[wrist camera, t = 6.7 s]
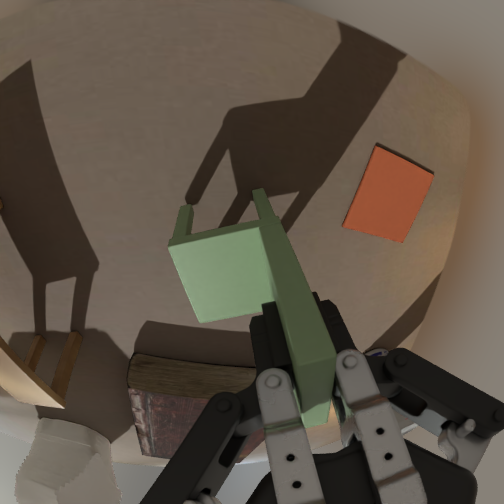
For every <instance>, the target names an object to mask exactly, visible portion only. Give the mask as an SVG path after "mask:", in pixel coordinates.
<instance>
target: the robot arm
mask: <svg viewBox="0 0 504 504" xmlns="http://www.w3.org/2000/svg"><path fill="white" fill-rule="evenodd" d="M312 294H313V297H314V299H315V302H316V304H317V306H318V309H319V311H320V314H321V316H322V318H323V321H324V323H325V326H326V328H327V331H328V333H329V336H330V338H331V341H332V343H333V346H334V348H335V351H336V353H337V360H336V368H335V376H334V383H333V391H332V397H331V399H332V402H333V405H334V409H335V412H336V416H337V419H338V423H339V426H340V432H341V440H342V445H343V449H342V450H340V451H338V452H336V453H327V454H312V452H311V449H310V445H309V441H308V438H307V434H306V430H305V427H304V424H303V421H302V419H301V416H300V412H299V409H298V405H297V401H296V398H295V394H294V391H293V390H294V389H295V384H294V376H293V367H292V361H291V357H290V354H289V350H288V346H287V342H286V338H285V335H284V331H283V327H282V323H281V320H280V316H279V312H278V308H277V305H276V301H271V302H267V303H262V304H261V306H262V310H263V315H259V316H254V317H252V319H251V322H250V325H249V328H250V334H251V340H252V347H253V353H254V359H255V365H256V377H255V380H254V381H253V383H252V384H251V385H250V386H249V387H247V388H245V389H243V390H241V391H239V392H237V393H235V394H234V393H232V392H220V393H217V394H215V395H214V396H213V397H211V399H210V400H209V401H208V403H207V405H206V406H205V408H204V409H203V411H202V412H201V414H200V416H199V417H198V419H197V420H196V422H195V423H194V425H193V426H192V428H191V429H190V431H189V432H188V434H187V436H186V437H185V439H184V440H183V442H182V443H181V445H180V446H179V448H178V449H177V451H176V452H175V453H174V455H173V456H172V458H171V459H170V461H169V462H168V464H167V465H166V467H165V468H164V470H163V471H162V473H161V474H160V475H159V477H158V478H157V480H156V481H155V483H154V484H153V485H152V487H151V488H150V490H149V491H148V492H147V494H146V495H145V497H144V498H143V499H142V501H141V502H140V504H221V502H220V501H219V500H218V499H217V498H215V496H216V494H217V493H218V491H219V490H220V488H221V486H222V485H223V483H224V481H225V480H226V478H227V477H228V475H229V473H230V472H231V470H232V468H233V466H234V465H235V463H236V461H237V460H238V458H239V456H240V454H241V453H242V451H243V449H244V447H245V445H246V444H247V442H248V440H249V438H250V436H251V434H252V432H254V431H257V430H259V429H260V428H262V427H264V430H263V431H264V438H265V443H266V448H267V454H268V459H269V463H270V468H271V471H270V472H269V473H268V474H267V475H265V477H264V478H263V479H262V480H261V482H260V483H259V484H258V486H257V487H256V489H255V490H254V492H253V494H252V495H251V496H250V498H249V499H248V501H247V502H246V504H475V500H476V495H477V488H478V487H477V481H476V478H475V476H474V475H473V473H474V471H475V469H476V468H477V466H478V464H479V462H480V460H481V458H482V457H483V455H484V453H485V451H486V448H487V447H488V444H489V442H490V440H491V438H492V437H493V436H494V435H496V434H497V433H499V432H500V431H501V430H503V429H504V403H502V402H501V401H499V400H497V399H495V398H493V397H492V396H490V395H488V394H486V393H484V392H483V391H481V390H479V389H477V388H475V387H474V386H472V385H470V384H468V383H466V382H465V381H463V380H461V379H459V378H457V377H455V376H454V375H452V374H450V373H448V372H447V371H445V370H443V369H441V368H440V367H438V366H436V365H434V364H432V363H431V362H429V361H427V360H425V359H423V358H422V357H420V356H418V355H416V354H414V353H413V352H411V351H409V350H407V349H405V348H395V349H393V350H391V351H390V352H389V353H388V354H387V355H386V356H368V355H365V354H363V353H361V352H360V351H359V350H357V348H356V347H355V345H354V343H353V340H352V338H351V336H350V334H349V332H348V330H347V327H346V325H345V323H344V322H343V319H342V317H341V316H340V313H339V311H338V309H337V306H336V305H335V304H333V303H332V302H331V301H330V300H329V299H328V300H324V301H320V299H319V297H318V295H317V293H316V292H312ZM393 410H395V411H396V412H398V413H399V414H401V415H403V416H404V417H406V418H407V419H409V420H411V421H412V422H414V423H416V424H417V425H419V426H421V427H422V428H424V429H426V430H427V431H429V432H431V433H432V434H434V435H436V436H438V446H439V449H440V450H441V451H442V452H443V453H445V455H446V456H447V459H448V460H446V459H444V458H442V457H440V456H438V455H436V454H434V453H432V452H430V451H428V450H426V449H424V448H422V447H420V446H418V445H416V444H414V443H412V442H410V441H408V440H406V439H404V438H403V436H402V433H401V430H400V428H399V425H398V422H397V420H396V417H395V415H394V412H393Z"/></svg>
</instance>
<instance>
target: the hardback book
mask: <svg viewBox="0 0 504 504" xmlns="http://www.w3.org/2000/svg"><path fill="white" fill-rule="evenodd" d="M255 377H256V369H254V368H241V367H229V366H219V365H210V364H201V363H194V362H186V361H179V360H173V359H166V358H160V357H155V356H149V355H144V354H138V353H133V355H132V357H131V359H130V361H129V367H128V373H127V385H128V391H129V397H130V403H131V408H132V413H133V418H134V422H135V427H136V431H137V435H138V440H139V444H140V448H141V451H142V455H145V456H151V457H158V458H165V459H171V458H172V456H173V455H174V453H175V452H176V451H177V449H178V448H179V446H180V445H181V443H182V442H183V440H184V439H185V437H186V436H187V434H188V432H189V431H190V429H191V428H192V426H193V425H194V423H195V422H196V420H197V419H198V417H199V416H200V414H201V412H202V411H203V409H204V408H205V406H206V405H207V403H208V401H209V400H210V399H211V397H213V396H214V395H215V394H217V393H220V392H232V393H234V394H235V393H237V392H239V391H241V390H243V389H245V388H247V387H249V386H250V385H251V384H252V383H253V381H254V380H255ZM263 430H264V427H262V428H260V429H259V430H257V431H254V432H252V434H251V436H250V438H249V440H248V442H247V444H246V445H245V447H244V449H243V451H242V453H241V454H240V456H239V458H238V460H237V461H236V463H240V462H241V461H242V460H243V459H244V458H246V457H247V456H248V455H249V454H250V453H251V452H252V451H253V450H254V449H255V448H256V447H257V446H258V445H259V444H260V443H262V442H263V441H264V440H265V438H264V431H263Z"/></svg>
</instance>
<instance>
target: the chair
mask: <svg viewBox="0 0 504 504" xmlns="http://www.w3.org/2000/svg"><path fill="white" fill-rule="evenodd" d="M252 195H253V200H254V203H255V206H256V209H257V212H258V215H259V218H260V219H259V220H255V221H250V222H245V223H240V224H236V225H231V226H226V227H222V228H217V229H213V230H208V231H204V232H199V233H195V234H191V230H192V223H193V216H194V212H193V208H192V205H191V204H188V205H184V206H181V207H180V210H179V214H178V218H177V222H176V226H175V230H174V234H173V238H172V239H170V240H169V244H168V249H169V252H170V254H171V257H172V259H173V262H174V264H175V267H176V269H177V272H178V274H179V277H180V279H181V281H182V284H183V286H184V289H185V291H186V293H187V296H188V298H189V300H190V303H191V305H192V307H193V309H194V312H195V314H196V316H197V318H198V321H199V323H204V322H210V321H215V320H221V319H226V318H231V317H236V316H241V315H246V314H251V313H256V312H261V311H263V310H262V306H261V304H262V303H267V302H271V301H276V305H277V308H278V312H279V316H280V320H281V323H282V327H283V331H284V335H285V338H286V342H287V346H288V350H289V354H290V357H291V361H292V367H293V376H294V384H295V389H294V390H293V391H294V394H295V398H296V401H297V405H298V409H299V412H300V416H301V419H302V421H303V424H304V427H305V428H309V427H313V426H317V425H321V424H324V423H327V422H328V416H329V410H330V404H331V397H332V391H333V383H334V376H335V368H336V360H337V353H336V351H335V348H334V346H333V343H332V341H331V338H330V336H329V333H328V331H327V328H326V326H325V323H324V321H323V318H322V316H321V314H320V311H319V309H318V306H317V304H316V302H315V299H314V297H313V294H312V292H311V290H310V287H309V285H308V283H307V280H306V278H305V276H304V273H303V271H302V269H301V266H300V264H299V262H298V259H297V257H296V255H295V253H294V250H293V248H292V246H291V244H290V241H289V239H288V237H287V235H286V233H285V230H284V228H283V226H282V224H281V221H280V219H279V217H278V216H275V214H274V211H273V209H272V207H271V205H270V202H269V200H268V198H267V196H266V193H265V191H264V189H263V188H261V189H256V190H252Z"/></svg>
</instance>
